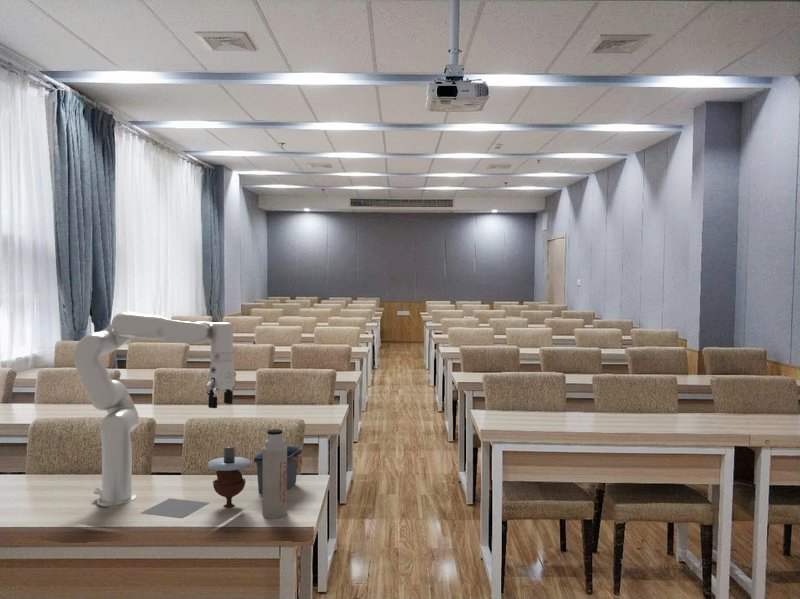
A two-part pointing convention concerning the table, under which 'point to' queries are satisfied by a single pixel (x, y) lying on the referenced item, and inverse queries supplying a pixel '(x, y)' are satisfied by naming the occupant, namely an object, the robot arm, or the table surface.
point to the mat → (175, 508)
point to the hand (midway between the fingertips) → (220, 405)
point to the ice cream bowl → (229, 485)
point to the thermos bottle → (274, 475)
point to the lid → (229, 461)
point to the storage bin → (291, 466)
